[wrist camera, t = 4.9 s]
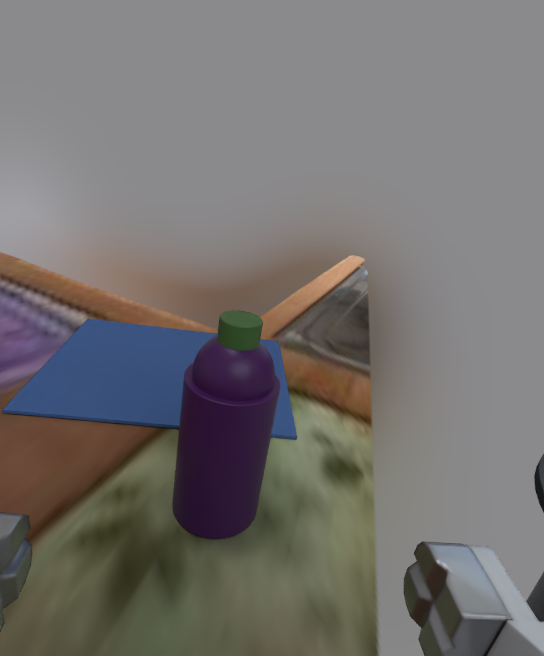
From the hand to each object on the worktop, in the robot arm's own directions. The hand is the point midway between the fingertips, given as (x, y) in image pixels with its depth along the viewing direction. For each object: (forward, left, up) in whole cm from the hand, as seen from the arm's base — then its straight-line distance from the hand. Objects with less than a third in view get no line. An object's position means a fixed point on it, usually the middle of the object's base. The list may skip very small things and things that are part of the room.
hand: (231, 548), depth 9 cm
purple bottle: (0, -13, -12) cm, 18 cm away
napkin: (+5, -29, -12) cm, 32 cm away
